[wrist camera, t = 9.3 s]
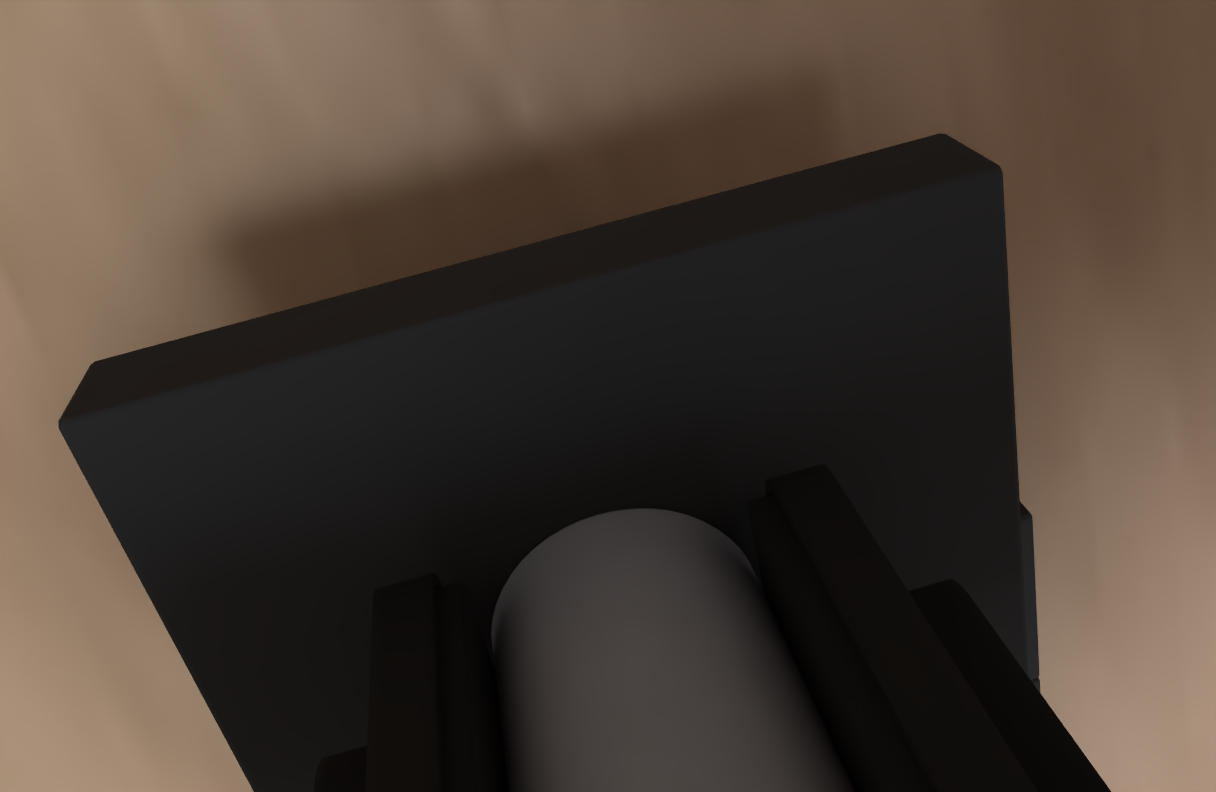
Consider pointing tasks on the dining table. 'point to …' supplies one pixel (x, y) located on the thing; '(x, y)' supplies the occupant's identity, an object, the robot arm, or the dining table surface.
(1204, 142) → the dining table surface
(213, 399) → the black base with peg
